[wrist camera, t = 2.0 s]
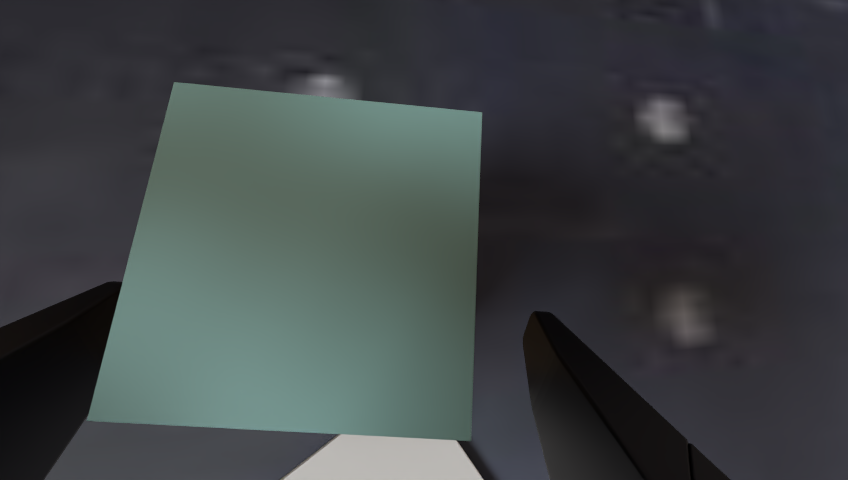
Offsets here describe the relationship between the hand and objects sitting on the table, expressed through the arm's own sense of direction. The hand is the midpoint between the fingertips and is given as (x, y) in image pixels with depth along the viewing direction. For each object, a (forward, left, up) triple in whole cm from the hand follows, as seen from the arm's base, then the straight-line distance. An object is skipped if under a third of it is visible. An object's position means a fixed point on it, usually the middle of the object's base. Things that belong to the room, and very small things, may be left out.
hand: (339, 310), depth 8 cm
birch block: (+1, -1, -9) cm, 9 cm away
